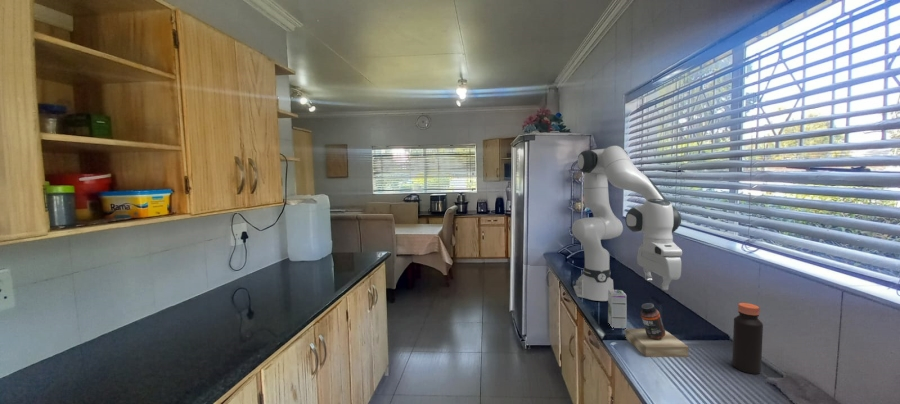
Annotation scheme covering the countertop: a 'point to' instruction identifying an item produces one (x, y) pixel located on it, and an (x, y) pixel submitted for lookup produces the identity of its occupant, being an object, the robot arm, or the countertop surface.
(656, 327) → the supplement bottle
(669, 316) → the countertop surface
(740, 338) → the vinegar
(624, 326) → the syrup box
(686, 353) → the beech block
